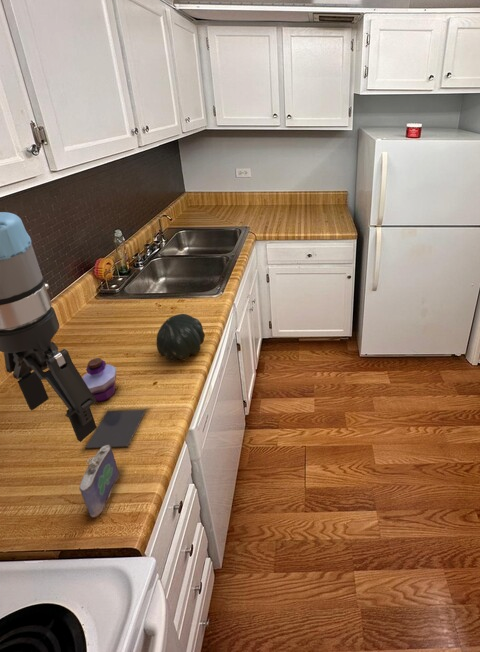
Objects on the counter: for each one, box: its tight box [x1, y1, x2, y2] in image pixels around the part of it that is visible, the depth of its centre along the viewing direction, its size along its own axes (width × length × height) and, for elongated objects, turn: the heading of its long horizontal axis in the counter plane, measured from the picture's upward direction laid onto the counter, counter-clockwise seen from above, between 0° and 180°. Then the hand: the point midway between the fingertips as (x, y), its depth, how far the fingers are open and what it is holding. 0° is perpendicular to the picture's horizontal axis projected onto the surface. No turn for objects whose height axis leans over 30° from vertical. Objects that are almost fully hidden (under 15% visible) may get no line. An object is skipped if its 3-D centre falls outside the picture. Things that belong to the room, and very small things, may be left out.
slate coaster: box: [84, 409, 147, 450], centre depth 84 cm, size 10×10×1 cm
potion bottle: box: [82, 357, 117, 404], centre depth 92 cm, size 9×9×12 cm
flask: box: [78, 445, 120, 519], centre depth 69 cm, size 9×3×11 cm, turn 4°
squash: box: [156, 313, 206, 361], centre depth 108 cm, size 14×15×15 cm
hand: (62, 418), depth 57 cm, fingers open, 13 cm apart
